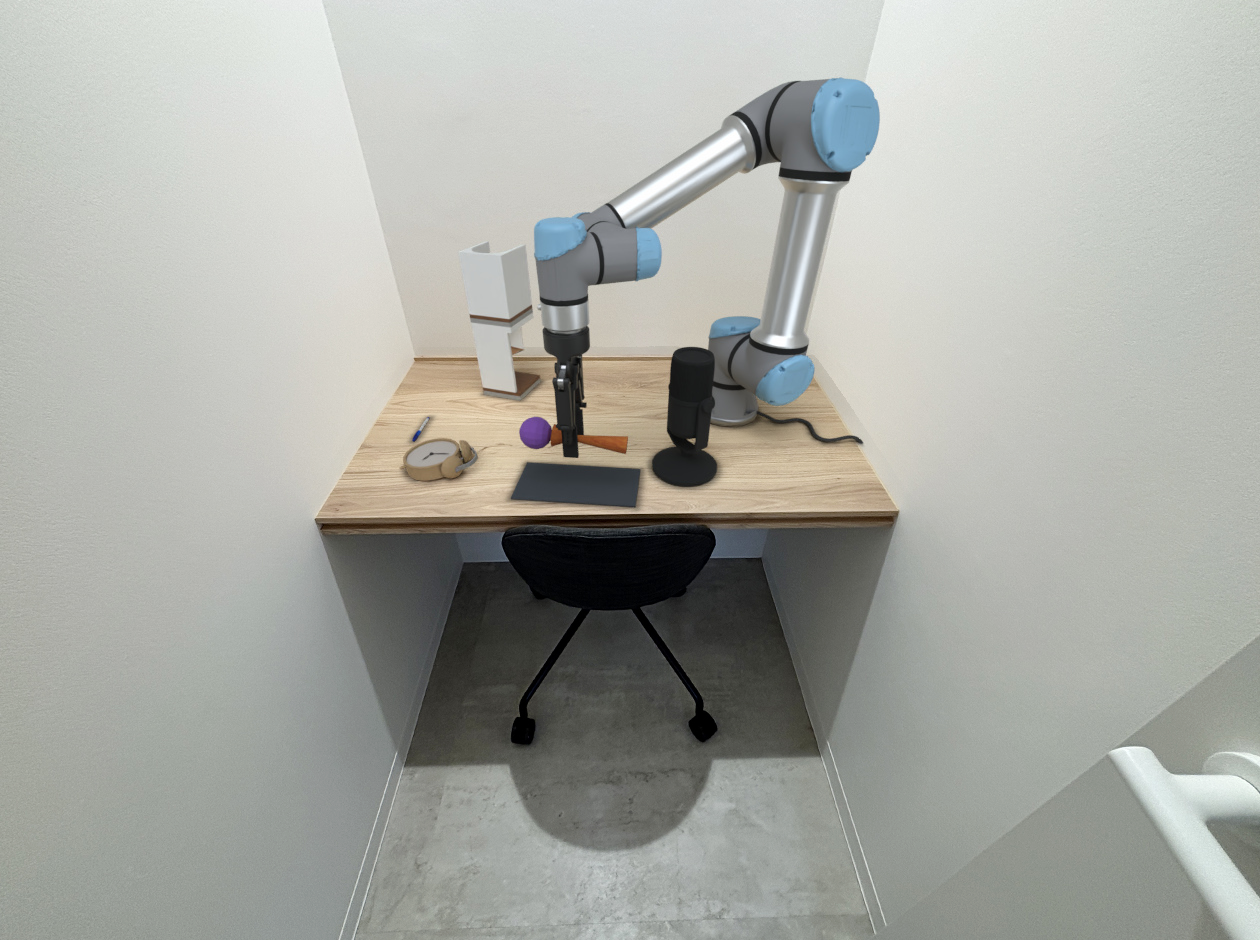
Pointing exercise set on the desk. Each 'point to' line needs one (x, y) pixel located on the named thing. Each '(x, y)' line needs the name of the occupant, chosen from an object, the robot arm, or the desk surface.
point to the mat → (578, 484)
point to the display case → (498, 315)
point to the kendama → (540, 433)
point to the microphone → (688, 420)
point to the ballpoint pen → (420, 430)
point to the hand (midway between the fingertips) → (574, 447)
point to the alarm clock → (438, 459)
